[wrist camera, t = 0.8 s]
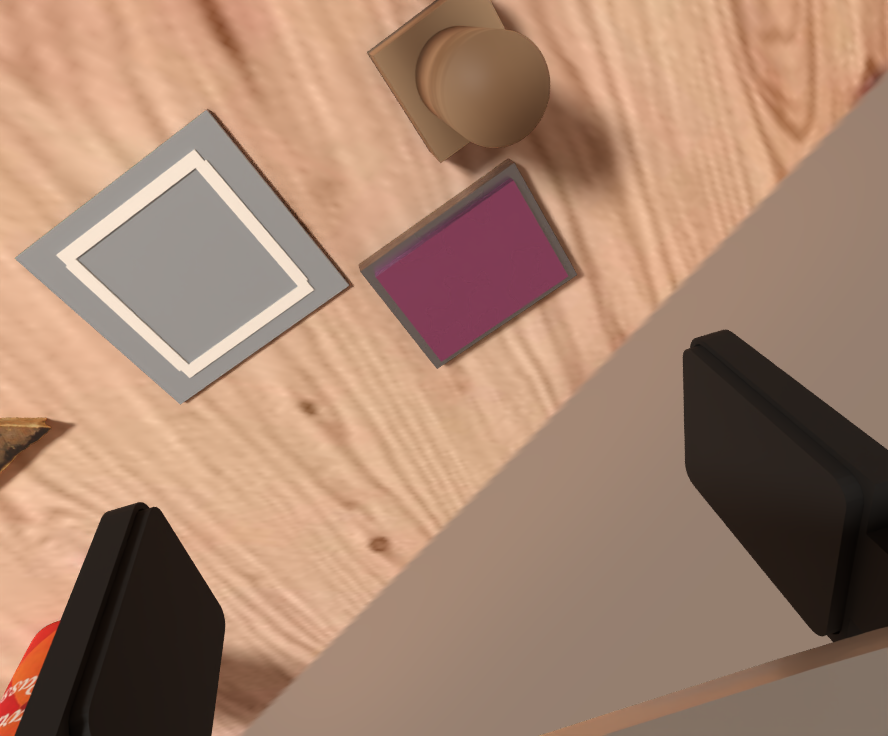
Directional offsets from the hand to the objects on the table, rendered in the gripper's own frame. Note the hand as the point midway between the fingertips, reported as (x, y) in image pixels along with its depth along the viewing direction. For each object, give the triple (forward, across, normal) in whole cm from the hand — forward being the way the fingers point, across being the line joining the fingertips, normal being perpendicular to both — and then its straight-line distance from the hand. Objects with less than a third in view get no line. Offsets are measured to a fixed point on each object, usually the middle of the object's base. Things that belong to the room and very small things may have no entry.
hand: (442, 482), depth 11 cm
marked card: (+22, +9, +2) cm, 24 cm away
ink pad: (+22, -4, +6) cm, 23 cm away
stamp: (+22, -5, -4) cm, 23 cm away
